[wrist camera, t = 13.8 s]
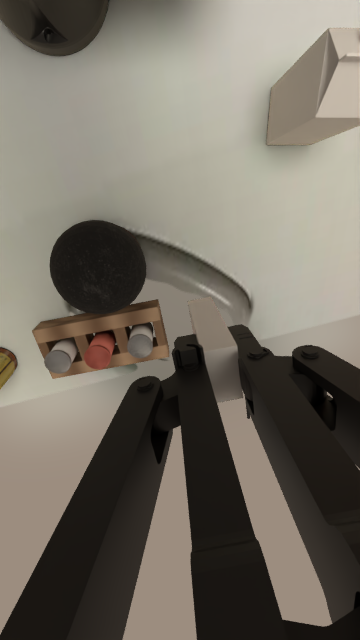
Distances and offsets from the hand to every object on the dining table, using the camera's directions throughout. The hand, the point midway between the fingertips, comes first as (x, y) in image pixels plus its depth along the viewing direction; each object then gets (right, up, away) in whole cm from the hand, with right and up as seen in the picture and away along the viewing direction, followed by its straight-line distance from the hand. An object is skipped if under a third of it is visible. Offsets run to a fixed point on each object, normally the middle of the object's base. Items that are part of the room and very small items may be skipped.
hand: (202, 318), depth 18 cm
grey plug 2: (-9, -2, +35) cm, 36 cm away
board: (-15, -3, +35) cm, 39 cm away
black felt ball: (-13, +11, +30) cm, 35 cm away
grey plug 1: (-22, -5, +35) cm, 41 cm away
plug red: (-15, -4, +34) cm, 37 cm away
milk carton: (+15, +30, +24) cm, 41 cm away
